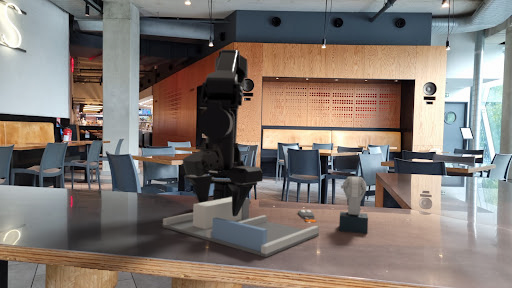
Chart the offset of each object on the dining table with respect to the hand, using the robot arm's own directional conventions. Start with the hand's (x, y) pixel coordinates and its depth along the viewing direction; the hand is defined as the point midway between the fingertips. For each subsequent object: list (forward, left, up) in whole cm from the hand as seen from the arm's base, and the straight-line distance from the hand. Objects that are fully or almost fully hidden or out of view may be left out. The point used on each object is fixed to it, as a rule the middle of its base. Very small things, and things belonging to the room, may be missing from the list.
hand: (218, 212), depth 79 cm
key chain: (-18, +11, -3) cm, 22 cm away
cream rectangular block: (0, 0, -2) cm, 2 cm away
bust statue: (-17, +22, -3) cm, 28 cm away
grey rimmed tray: (0, +6, -3) cm, 7 cm away
